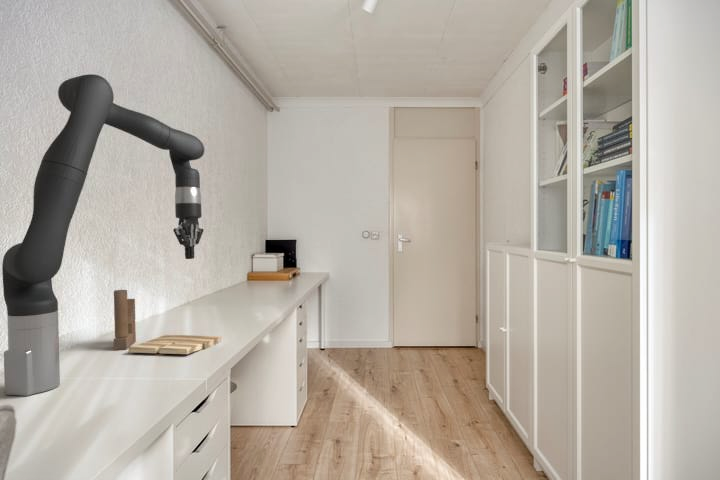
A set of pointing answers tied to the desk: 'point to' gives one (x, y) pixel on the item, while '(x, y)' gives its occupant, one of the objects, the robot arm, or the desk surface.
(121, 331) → the wooden block
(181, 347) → the plank
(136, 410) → the desk surface
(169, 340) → the laid floor
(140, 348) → the plank
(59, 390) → the desk surface
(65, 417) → the desk surface
